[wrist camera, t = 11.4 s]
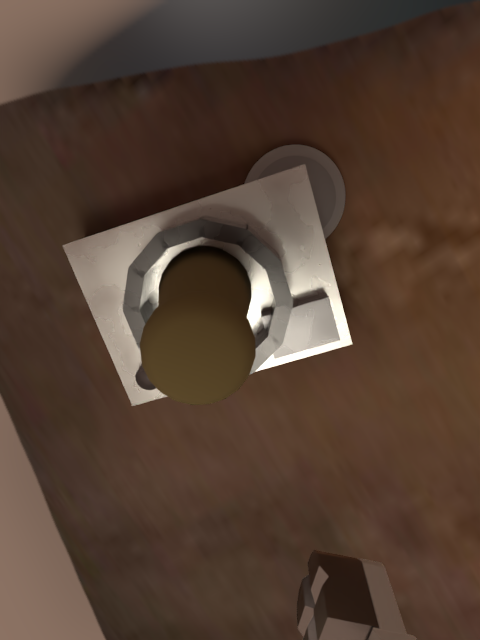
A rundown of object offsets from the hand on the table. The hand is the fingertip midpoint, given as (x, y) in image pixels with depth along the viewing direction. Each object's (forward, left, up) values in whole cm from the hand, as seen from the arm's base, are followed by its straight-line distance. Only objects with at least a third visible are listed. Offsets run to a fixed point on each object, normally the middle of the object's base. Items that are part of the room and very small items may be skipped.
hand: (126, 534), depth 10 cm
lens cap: (-7, -4, -25) cm, 26 cm away
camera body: (0, 0, -25) cm, 25 cm away
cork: (0, 0, -21) cm, 21 cm away
